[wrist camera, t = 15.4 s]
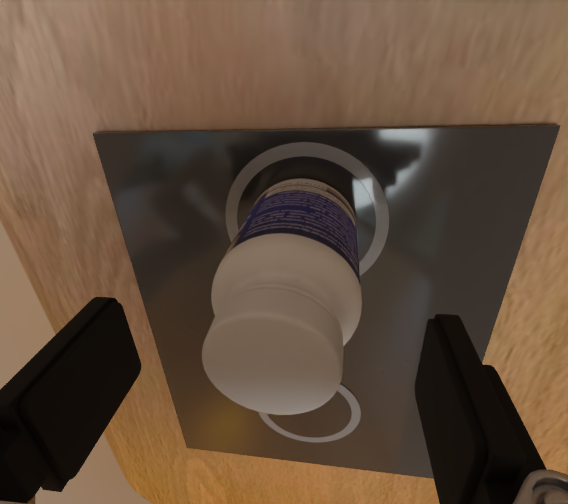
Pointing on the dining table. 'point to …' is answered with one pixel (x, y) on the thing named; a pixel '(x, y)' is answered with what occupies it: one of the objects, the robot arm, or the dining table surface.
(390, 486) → the dining table surface
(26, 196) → the dining table surface
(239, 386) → the pill bottle
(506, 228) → the hob
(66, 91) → the dining table surface
